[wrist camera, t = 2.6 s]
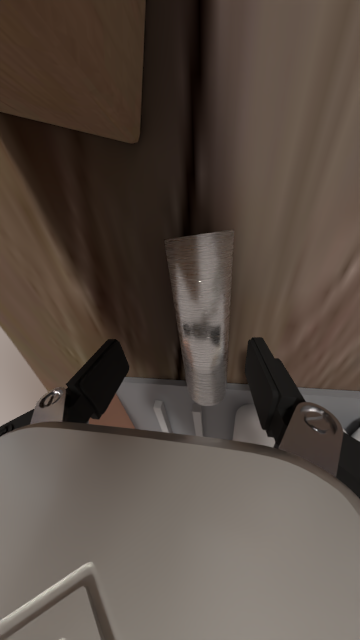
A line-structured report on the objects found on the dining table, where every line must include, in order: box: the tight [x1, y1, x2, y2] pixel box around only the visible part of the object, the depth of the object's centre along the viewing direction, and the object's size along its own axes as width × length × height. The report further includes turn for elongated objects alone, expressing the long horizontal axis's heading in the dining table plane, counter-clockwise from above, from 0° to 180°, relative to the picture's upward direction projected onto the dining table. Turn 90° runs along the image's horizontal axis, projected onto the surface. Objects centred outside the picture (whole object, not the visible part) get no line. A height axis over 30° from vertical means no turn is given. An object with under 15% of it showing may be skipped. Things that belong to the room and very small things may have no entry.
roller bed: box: [89, 377, 360, 449], centre depth 18 cm, size 38×19×9 cm, turn 97°
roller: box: [164, 230, 234, 406], centre depth 12 cm, size 4×14×4 cm, turn 8°
